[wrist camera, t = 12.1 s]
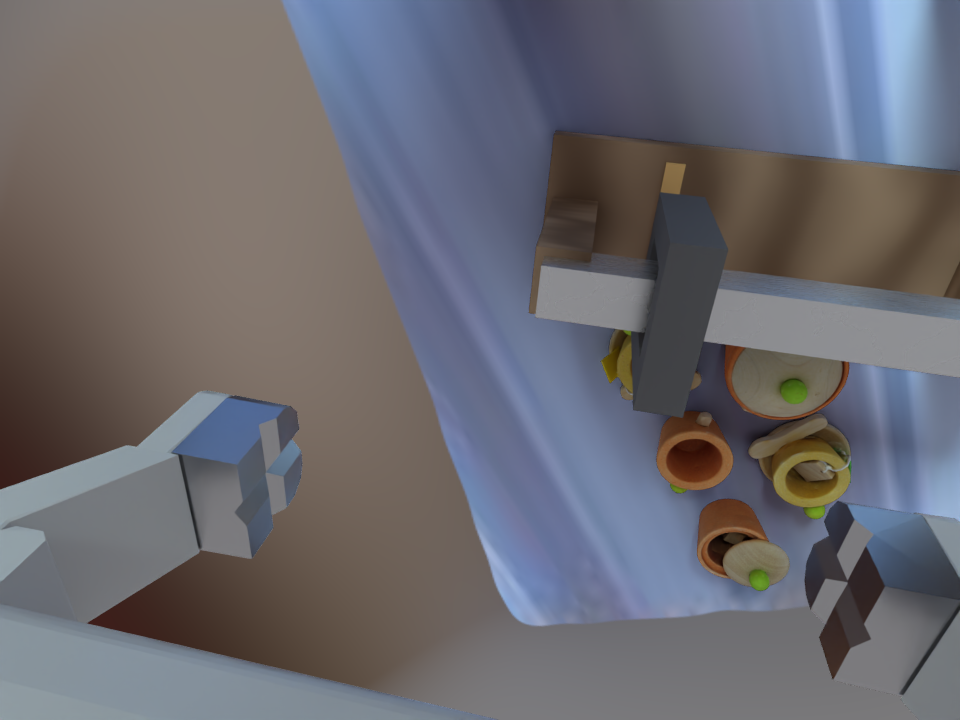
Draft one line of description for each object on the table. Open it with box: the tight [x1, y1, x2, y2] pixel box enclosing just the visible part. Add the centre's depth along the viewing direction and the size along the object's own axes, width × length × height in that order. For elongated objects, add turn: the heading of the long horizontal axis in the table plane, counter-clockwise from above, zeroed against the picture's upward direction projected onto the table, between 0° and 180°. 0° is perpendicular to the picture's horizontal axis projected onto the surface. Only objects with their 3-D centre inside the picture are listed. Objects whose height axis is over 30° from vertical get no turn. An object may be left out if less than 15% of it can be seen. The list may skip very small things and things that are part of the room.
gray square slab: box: [631, 192, 728, 418], centre depth 34 cm, size 2×9×9 cm, turn 176°
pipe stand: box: [529, 131, 960, 378], centre depth 37 cm, size 30×12×14 cm, turn 86°
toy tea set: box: [601, 329, 851, 591], centre depth 47 cm, size 26×16×10 cm, turn 26°
